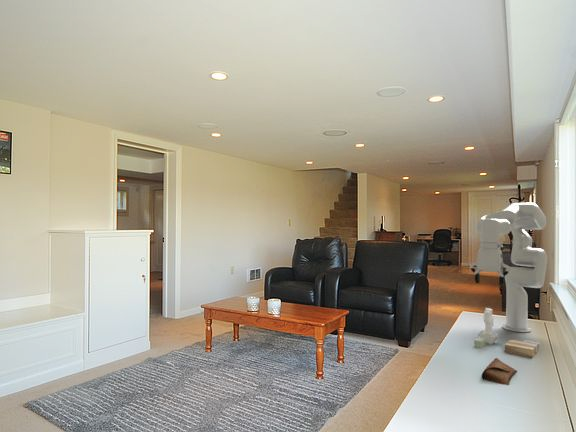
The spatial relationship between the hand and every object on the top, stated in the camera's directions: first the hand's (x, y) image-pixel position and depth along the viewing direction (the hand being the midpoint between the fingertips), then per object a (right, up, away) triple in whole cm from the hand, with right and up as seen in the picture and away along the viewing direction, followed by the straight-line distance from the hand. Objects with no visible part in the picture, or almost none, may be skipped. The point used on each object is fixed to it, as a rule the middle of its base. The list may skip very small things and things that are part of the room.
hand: (489, 284), depth 180 cm
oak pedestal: (+7, -26, -13) cm, 30 cm away
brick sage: (-7, -26, -7) cm, 28 cm away
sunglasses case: (-17, -25, -41) cm, 51 cm away
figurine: (-1, -26, 0) cm, 26 cm away
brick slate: (+14, -26, -8) cm, 31 cm away
